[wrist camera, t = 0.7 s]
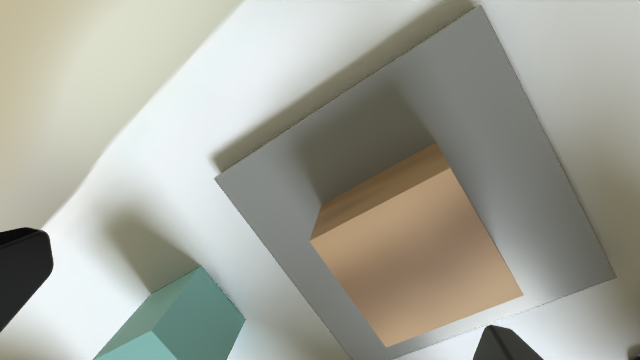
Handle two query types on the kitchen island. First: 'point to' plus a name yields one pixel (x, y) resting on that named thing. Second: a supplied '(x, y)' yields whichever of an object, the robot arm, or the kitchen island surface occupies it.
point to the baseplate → (402, 142)
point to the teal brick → (179, 324)
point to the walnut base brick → (412, 249)
